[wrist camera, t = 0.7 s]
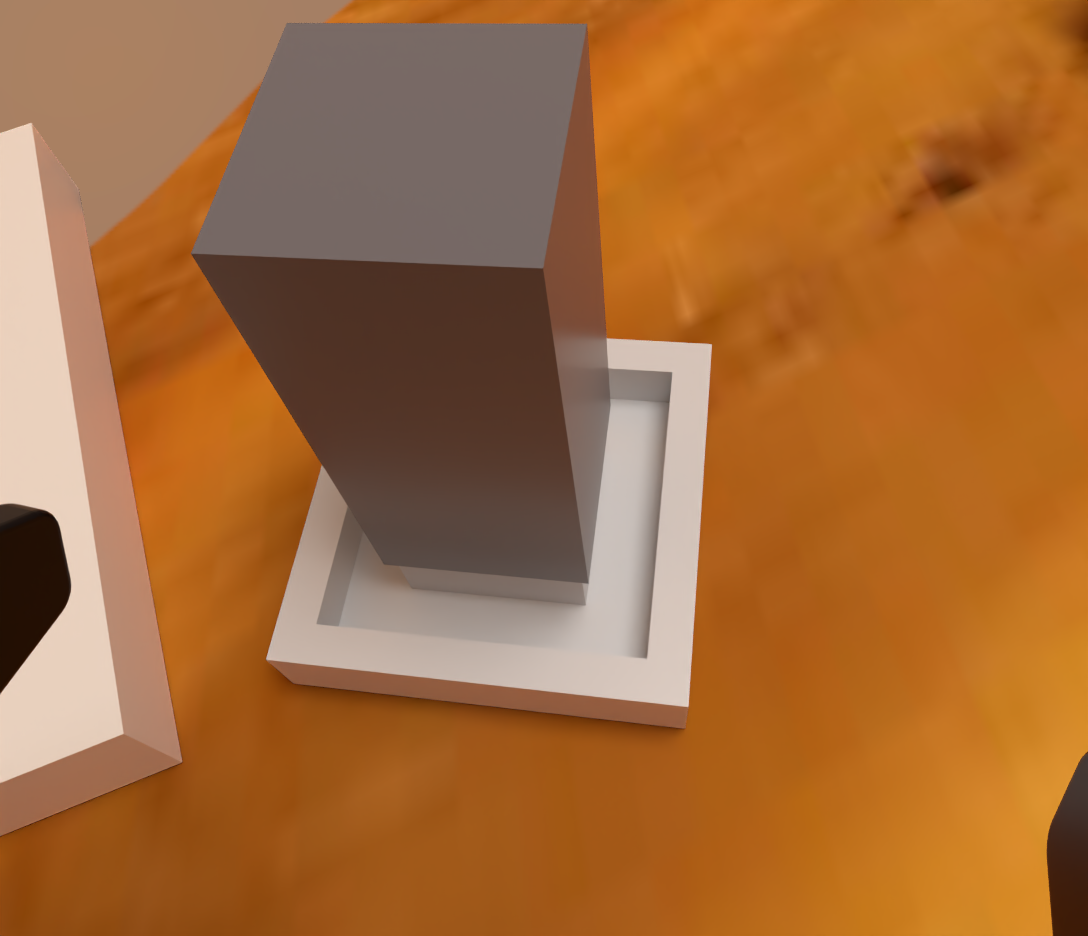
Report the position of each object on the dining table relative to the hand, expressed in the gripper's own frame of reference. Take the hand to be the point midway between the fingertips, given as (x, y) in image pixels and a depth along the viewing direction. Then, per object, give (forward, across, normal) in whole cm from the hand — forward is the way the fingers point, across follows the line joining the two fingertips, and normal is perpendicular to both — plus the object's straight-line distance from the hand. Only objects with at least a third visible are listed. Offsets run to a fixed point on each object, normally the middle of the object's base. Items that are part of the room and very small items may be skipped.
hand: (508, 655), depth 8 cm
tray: (+15, +4, +8) cm, 18 cm away
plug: (+15, +4, +8) cm, 17 cm away
